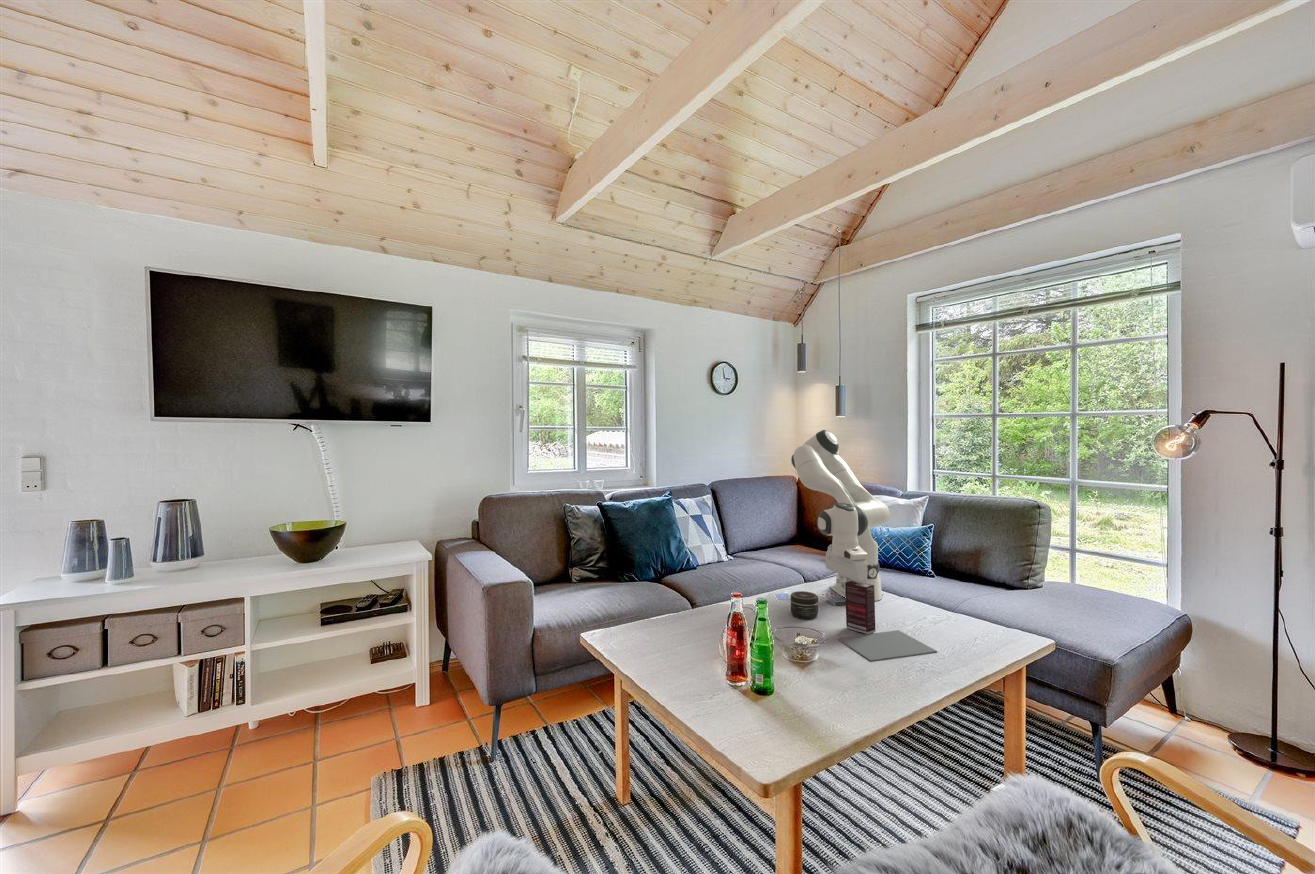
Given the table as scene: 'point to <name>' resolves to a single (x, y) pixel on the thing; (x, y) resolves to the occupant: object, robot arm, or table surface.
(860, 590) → the supplement box
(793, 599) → the jar
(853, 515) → the robot arm
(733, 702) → the table surface
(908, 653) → the mat
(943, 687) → the table surface
